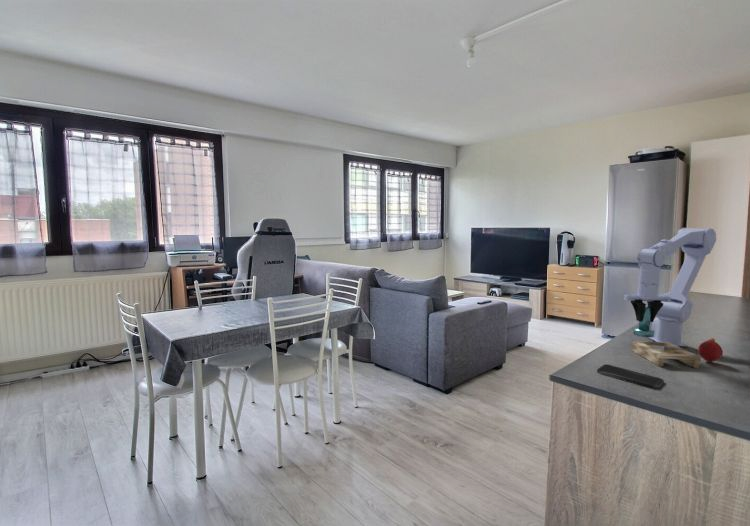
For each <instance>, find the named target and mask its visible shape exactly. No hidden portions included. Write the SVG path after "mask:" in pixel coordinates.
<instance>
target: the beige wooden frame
mask: <svg viewBox="0 0 750 526" xmlns="http://www.w3.org/2000/svg"><path fill="white" fill-rule="evenodd" d="M651 346H659V347H660V346H661V347H662V346H663V350H662V349H661V348H660V349H659V348H658V349H657V348H653V347H651ZM633 351H634V352H633ZM631 352H633V353H635V354H636V353H637V355H638V354H639V355H638V356H640V355H641V356H640V357H642V358H643V357H644V358H643V359H645V358H646V359H645V360H647V359H648V360H649V361H648V360H647V361H648V362H650V361H651V362H650V363H652V362H653V363H652V364H654V365H655V364H656V365H655V366H657V365H658V366H657V367H664V363H665V360H667V359H669V360H678V361H680V362H682V363H683V364H686V365H688V366H689V367H691V366H692V368H693V367H694V369H700V364H701V356H700V355H698V354H695V353H692V352H691V351H688V350H686V349H684V348H682V347H681V346H676V345H674V344H671V343H669V342H656V341H642V340H641V341H640V340H632V344H631Z"/></svg>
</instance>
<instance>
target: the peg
mask: <svg viewBox="0 0 750 526" xmlns="http://www.w3.org/2000/svg"><path fill="white" fill-rule="evenodd" d="M651 312H652V308H651V307H648V305H646V306H645V308H644V312H643V319H642V322H639V321H638V327H634V328H633V333H632V334H633V335H635V336H638V337H642V338H648V337H654V331H653V330H651V329H652V328H651V327H650V326H651V322H650V321H651ZM650 328H651V329H650Z"/></svg>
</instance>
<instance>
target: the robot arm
mask: <svg viewBox="0 0 750 526" xmlns="http://www.w3.org/2000/svg"><path fill="white" fill-rule="evenodd" d="M716 241H717V234H716V231H715V229H714V228H696V227H695V228H693V227H690V228H689V227H682V228H680V229H678V230H677V233H676V235H674V236H673V237H672V238H671V239H665V238H664V239H661V240H660V241H659V242H658V243H656V244H655V245H652V246H650V247H649V248H643V249H641V250H640V251H638V253H637V256H636V261H637V264H638V270H639V277H638V286H637V293H632V294H631V293H630V294H623V301H626V302H630V304H631V306H632V308H633V309H634V313H635V319H636V321H637V322H638V323H639V322H642V319H643V312H644V308H645V306H647V307H651V308H652V312H651V321H650V323H651V330H653V331H654V337H647V338H648V339H650V340H652V341H653V342H669V343H671V344H674V345H676V346H678V347H688V346H687V344H685V343H683V342H682V336H683V325H684V322H686V321H687V320H689V319H690V317H691V313H692V308H693V302H692V301H691V300H690V299H689V298H688V295H689V293H690V290H691V289H692V287H693V285H694V283H695V280H696V278H697V276H698V273H699V271H700V270H701V267H702V266H703V263H704V261H705V259H706V257H707V256H708V255H710V254H711V252H712V250H713V249H714V246H715V244H716ZM678 248H679V249H681V251H682V252H683V253H684V254H686V257H685V259H684V261H683V264H682V265H681V267H680V269H679V271H678V274H677V276H676V278H675V280H674V282H673V285H672V287H671V289H670V291H667V292H666V293H663V294H661V295H660V294H658V293H659V285H660V277H661V275H660V274H661V266H662V267H663V265H665V264H666V263H665V262H666V261H667V259H668V258H669V257H671V256H673V255H674V254H676V252H677V251H678ZM645 302H647V303H645Z"/></svg>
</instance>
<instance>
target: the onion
mask: <svg viewBox="0 0 750 526" xmlns="http://www.w3.org/2000/svg"><path fill="white" fill-rule="evenodd" d="M697 350H698V354H699V357H700V358H702V359H703V360H705V361H706V362H707V363H713V362H715V361H718V360H719V359H721V357H723V352H724V351H723V349H722V346H721V345H720V344H719V343H717V341H716V339H715V338H714V337H711V338H709V339H708V340H705V341H704V342H702V343H700V345H699V346H698V349H697Z"/></svg>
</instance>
